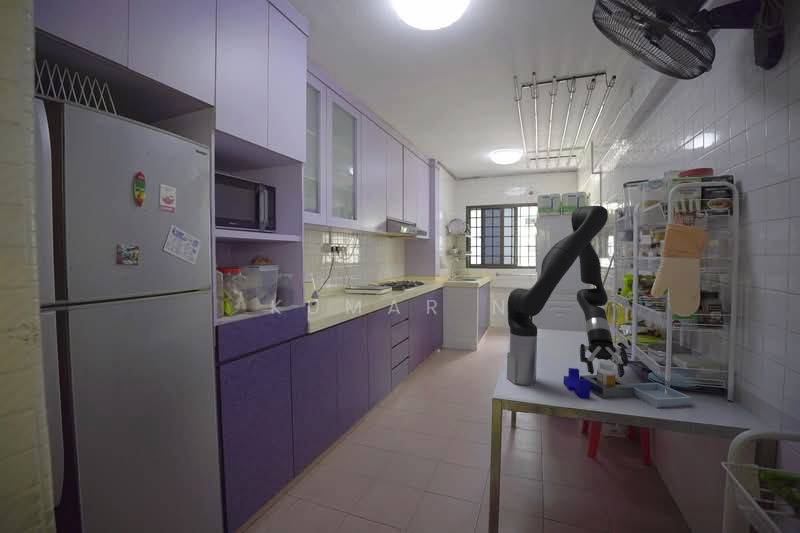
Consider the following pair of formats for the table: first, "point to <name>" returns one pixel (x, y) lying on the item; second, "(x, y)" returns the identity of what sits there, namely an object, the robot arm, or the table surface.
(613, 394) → the tray
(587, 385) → the blue stepped block
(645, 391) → the tray
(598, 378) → the supplement bottle
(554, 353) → the table surface
